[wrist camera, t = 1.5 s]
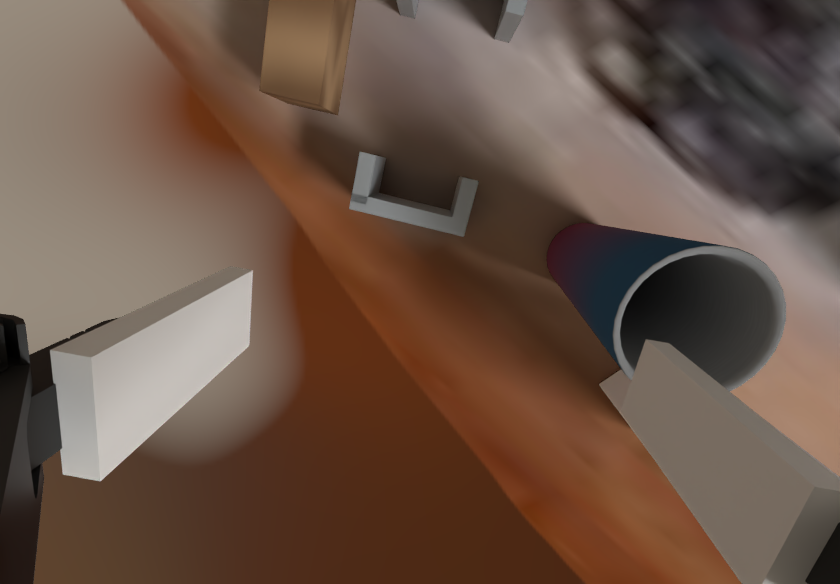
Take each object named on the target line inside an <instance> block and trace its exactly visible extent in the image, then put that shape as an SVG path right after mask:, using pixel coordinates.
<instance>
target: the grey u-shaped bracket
mask: <svg viewBox="0 0 840 584" xmlns="http://www.w3.org/2000/svg"><path fill="white" fill-rule="evenodd" d="M396 1H397V5H398V9H399V13H400V15H403V16H407V17H411V18H415V15H416V10H417V5H418V1H419V0H396ZM526 4H527V0H504V3H503V7H502V10H501V14H500V18H499V22H498V26H497V30H496V34H495V38H494V39H497V40H501V41H505V42H508V43H509V41H510V40H511V38H512V36H513V34H514V32H515V30H516V28H517V27H518V25H519V23H520V21H521V19H522V17H523V15H524V11H525V8H526Z"/></svg>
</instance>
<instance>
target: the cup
mask: <svg viewBox="0 0 840 584" xmlns="http://www.w3.org/2000/svg"><path fill="white" fill-rule="evenodd" d="M547 266H548V269H549V272H550V273H551V275H552V277H553V278H554V279H555V281H556V282H557V283H558V285H559V286H560V288H561V289H562V290H563V292H564V293H565V294H566V296H567V297H568V298H569V300H570V301H571V302H572V304H573V305H574V306H575V308H576V309H577V310H578V312H579V313H580V314H581V316H582V317H583V318H584V320H585V321H586V322H587V324H588V325H589V327H590V328H591V329H592V331H593V332H594V333H595V335H596V336H597V337H598V339H599V340H600V341H601V343H602V344H603V345H604V347H605V348H606V349H607V351H608V352H609V353H610V355H611V356H612V357H613V359H614V360H615V361H616V363H617V364H618V365H619V367H620V368H621V370H622V371H623V372H624V374H625V375H626V376H627V377H628V378H629V379H630V380H632V377H633V375H634V372H635V369H636V366H637V363H638V360H639V357H640V355H641V352H642V349H643V346H644V343H645V340H646V339H648V340H653V341H659V342H665V343H669V344H671V345H672V346H673V347H674V348H676V349H677V350H678V351H679V352H681V353H682V354H683V355H684V356H686V357H687V358H688V359H689V360H691V361H692V362H693V363H694V364H696V365H697V366H698V367H699V368H701V369H702V370H703V371H704V372H706V373H707V374H708V375H709V376H711V377H712V378H713V379H714V380H716V381H717V382H718V383H719V384H721V385H722V386H723V387H724V388H726V389H727V390H728V391H731V390H733V389H735V388H737V387H739V386H741V385H742V384H744V383H745V382H746V381H748V380H749V379H750V378H752V377H753V376H754V375H755V374H756V373H757V372H758V371H759V370H760V369H761V368H762V367H763V366H764V365H765V364H766V363H767V362H768V360H769V359H770V357H771V356H772V354H773V353H774V352H775V350H776V348H777V346H778V344H779V341H780V339H781V337H782V334H783V330H784V325H785V321H786V302H785V298H784V293H783V289H782V287H781V285H780V283H779V281H778V279H777V277H776V276H775V274H774V273H773V272H772V271H771V270H770V269H769V267H768V266H767V265H766V264H765V263H764V262H762V261H761V260H759V259H758V258H757V257H755V256H754V255H752V254H750V253H747V252H745V251H743V250H740V249H738V248H733V247H727V246H722V245H716V244H710V243H704V242H698V241H692V240H686V239H680V238H674V237H668V236H662V235H656V234H650V233H644V232H638V231H632V230H626V229H620V228H614V227H608V226H602V225H596V224H590V223H578V224H574V225H571V226H569V227H566V228H565V229H563V230H562V231H560V232H559V233H558V234H557V235H556V236H555V238H554V239H553V240H552V242H551V244H550V246H549V249H548V252H547Z"/></svg>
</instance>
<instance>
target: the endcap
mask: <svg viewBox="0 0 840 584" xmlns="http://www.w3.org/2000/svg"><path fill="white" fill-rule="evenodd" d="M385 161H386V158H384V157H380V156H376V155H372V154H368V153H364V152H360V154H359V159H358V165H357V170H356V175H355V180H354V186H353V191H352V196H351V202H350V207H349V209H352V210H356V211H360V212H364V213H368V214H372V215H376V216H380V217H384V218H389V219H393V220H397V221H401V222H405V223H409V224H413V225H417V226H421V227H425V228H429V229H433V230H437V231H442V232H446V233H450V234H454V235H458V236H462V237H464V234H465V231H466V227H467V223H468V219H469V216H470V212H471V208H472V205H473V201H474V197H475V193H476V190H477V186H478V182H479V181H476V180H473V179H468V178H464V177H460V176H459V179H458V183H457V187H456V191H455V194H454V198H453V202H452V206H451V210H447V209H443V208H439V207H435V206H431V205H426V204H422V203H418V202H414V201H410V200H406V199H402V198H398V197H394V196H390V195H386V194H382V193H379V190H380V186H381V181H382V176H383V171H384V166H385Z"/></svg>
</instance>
